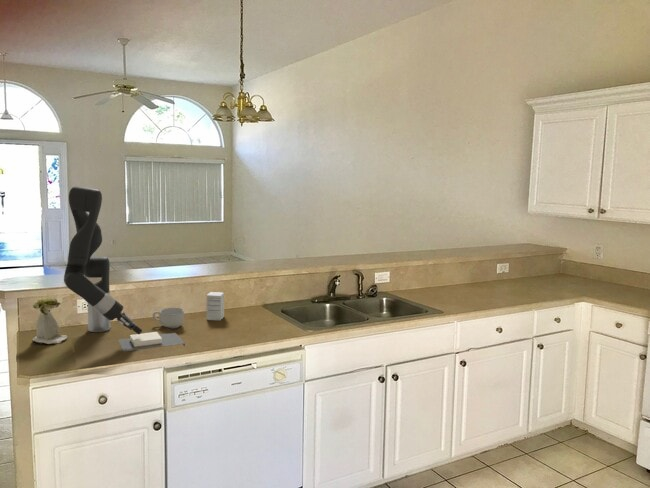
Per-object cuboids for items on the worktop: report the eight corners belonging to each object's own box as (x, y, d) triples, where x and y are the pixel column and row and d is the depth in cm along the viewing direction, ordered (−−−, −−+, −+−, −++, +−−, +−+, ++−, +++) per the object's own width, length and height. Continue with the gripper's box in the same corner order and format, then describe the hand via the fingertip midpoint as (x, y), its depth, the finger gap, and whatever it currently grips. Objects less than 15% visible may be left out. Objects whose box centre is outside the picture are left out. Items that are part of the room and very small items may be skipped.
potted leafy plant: (47, 347, 206) (45, 303, 203) (25, 342, 211) (22, 299, 208) (72, 339, 217) (70, 296, 214) (50, 334, 222) (48, 293, 219)
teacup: (186, 324, 244) (186, 307, 243) (180, 330, 233) (179, 313, 232) (158, 322, 244) (157, 306, 243) (149, 329, 233) (149, 312, 232)
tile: (130, 334, 215) (157, 331, 220) (130, 340, 215) (157, 337, 220) (134, 341, 206) (162, 338, 211) (134, 347, 206) (162, 343, 212)
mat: (118, 341, 215) (118, 339, 215) (175, 334, 227) (175, 332, 227) (123, 353, 202) (123, 351, 201) (184, 345, 213) (184, 343, 213)
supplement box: (210, 316, 258) (210, 291, 257) (224, 316, 258) (224, 292, 256) (206, 320, 251) (206, 295, 249) (220, 320, 251) (221, 295, 249)
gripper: (117, 303, 199) (150, 329, 207) (112, 295, 211) (144, 321, 218) (102, 317, 197) (136, 344, 205) (99, 309, 209) (131, 334, 216)
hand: (140, 332), depth 212 cm, fingers closed
